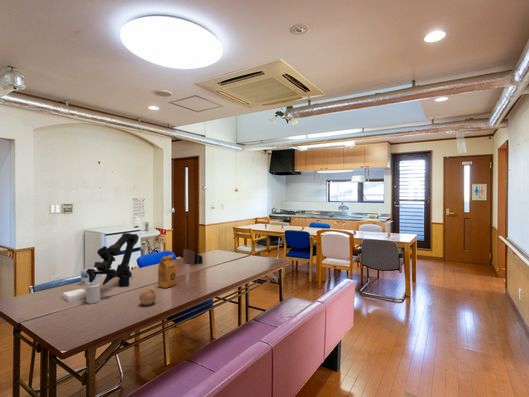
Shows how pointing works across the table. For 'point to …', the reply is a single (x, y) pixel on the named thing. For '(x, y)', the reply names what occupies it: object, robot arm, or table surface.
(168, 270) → the coffee package
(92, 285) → the can
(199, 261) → the letter holder
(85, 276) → the light bulb box
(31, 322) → the table surface
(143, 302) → the onion
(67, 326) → the table surface
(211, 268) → the table surface
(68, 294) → the stand
